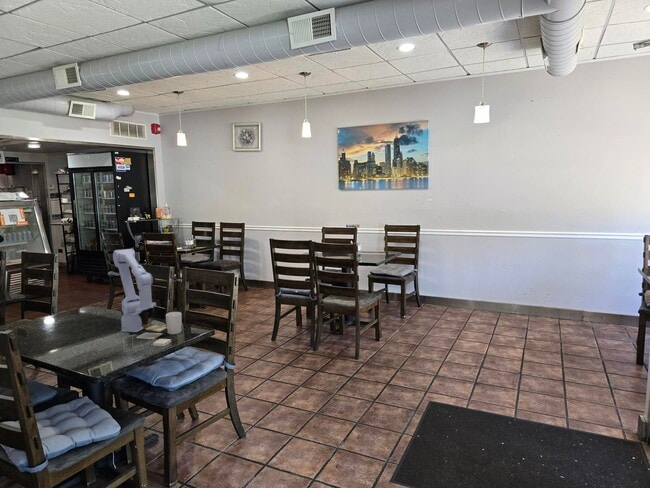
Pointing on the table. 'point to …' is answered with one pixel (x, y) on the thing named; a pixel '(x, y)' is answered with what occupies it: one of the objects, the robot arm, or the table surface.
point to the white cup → (174, 322)
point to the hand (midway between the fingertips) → (146, 323)
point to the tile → (162, 342)
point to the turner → (153, 326)
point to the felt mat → (149, 335)
